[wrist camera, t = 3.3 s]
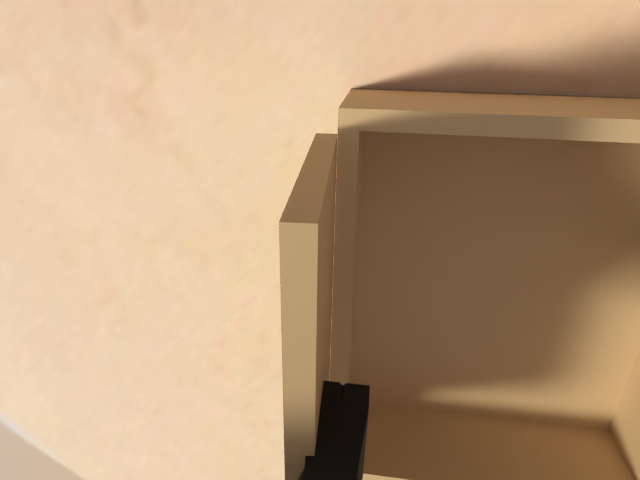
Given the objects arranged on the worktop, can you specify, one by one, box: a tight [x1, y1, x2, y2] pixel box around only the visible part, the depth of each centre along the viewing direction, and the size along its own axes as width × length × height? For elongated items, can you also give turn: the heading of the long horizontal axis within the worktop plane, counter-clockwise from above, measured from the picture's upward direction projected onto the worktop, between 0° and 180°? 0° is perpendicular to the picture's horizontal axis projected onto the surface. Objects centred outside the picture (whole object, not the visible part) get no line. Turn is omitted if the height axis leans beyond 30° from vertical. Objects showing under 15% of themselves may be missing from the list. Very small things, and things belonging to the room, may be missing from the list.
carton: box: [330, 89, 640, 480], centre depth 17 cm, size 15×13×4 cm
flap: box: [279, 133, 337, 480], centre depth 13 cm, size 6×14×1 cm
